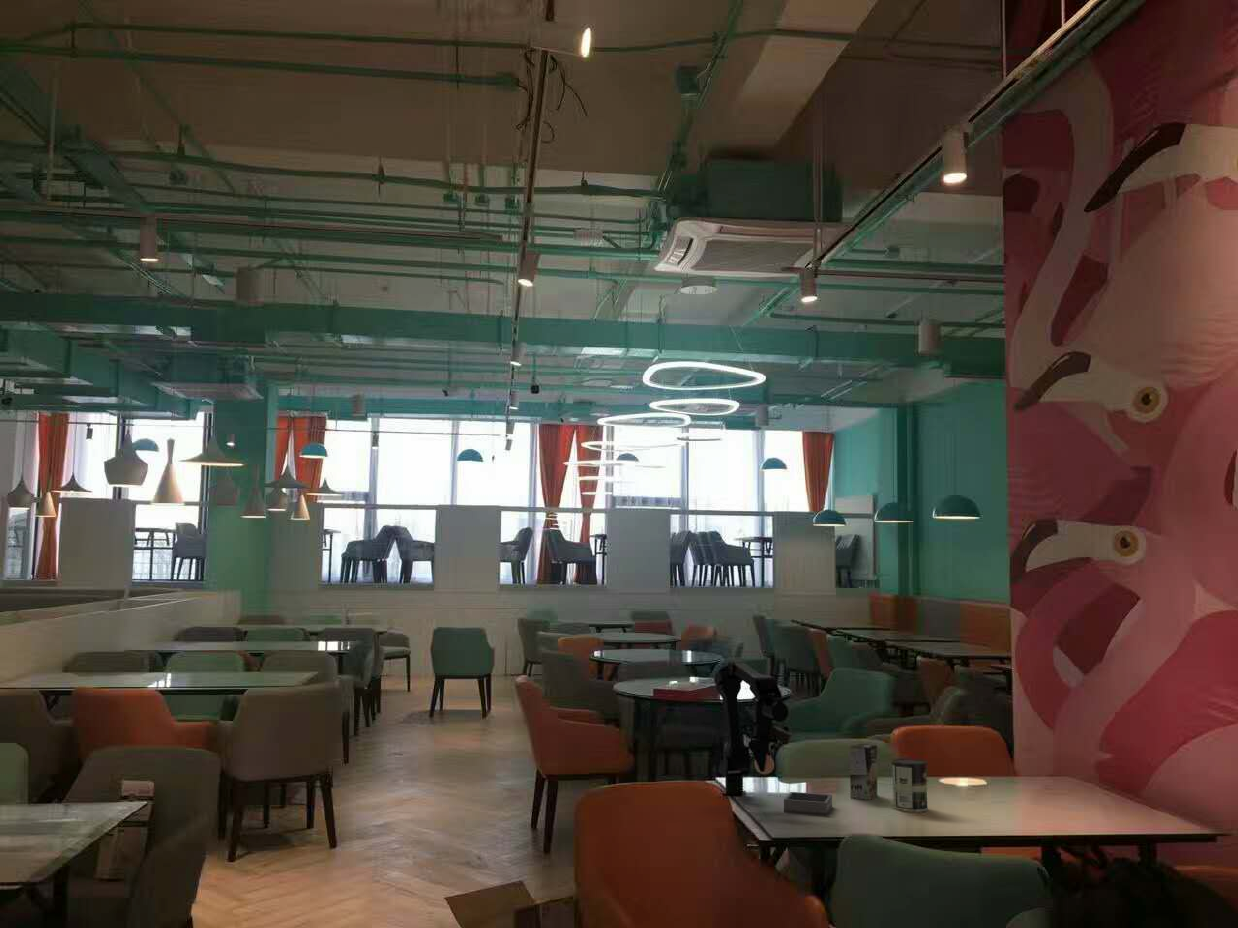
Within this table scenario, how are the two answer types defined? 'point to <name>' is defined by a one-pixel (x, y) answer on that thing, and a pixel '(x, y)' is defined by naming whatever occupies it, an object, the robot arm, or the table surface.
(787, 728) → the robot arm
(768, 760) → the ball
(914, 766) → the coffee can
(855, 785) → the coffee box
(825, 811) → the grey open square tray
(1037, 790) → the table surface
